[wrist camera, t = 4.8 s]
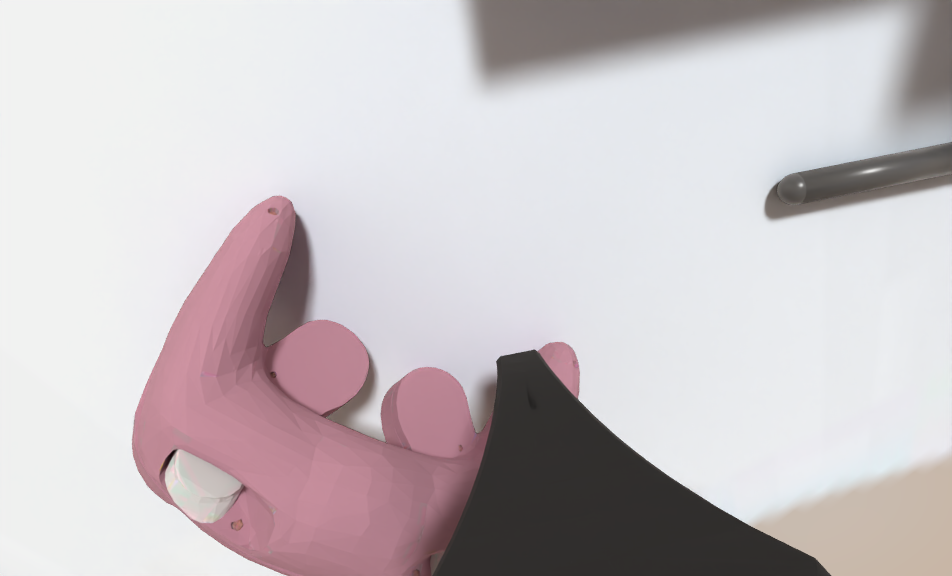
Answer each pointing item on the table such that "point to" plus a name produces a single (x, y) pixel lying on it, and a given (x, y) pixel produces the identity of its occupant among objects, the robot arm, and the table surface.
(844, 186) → the power strip
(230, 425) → the video game controller
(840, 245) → the table surface
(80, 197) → the table surface
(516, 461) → the robot arm
